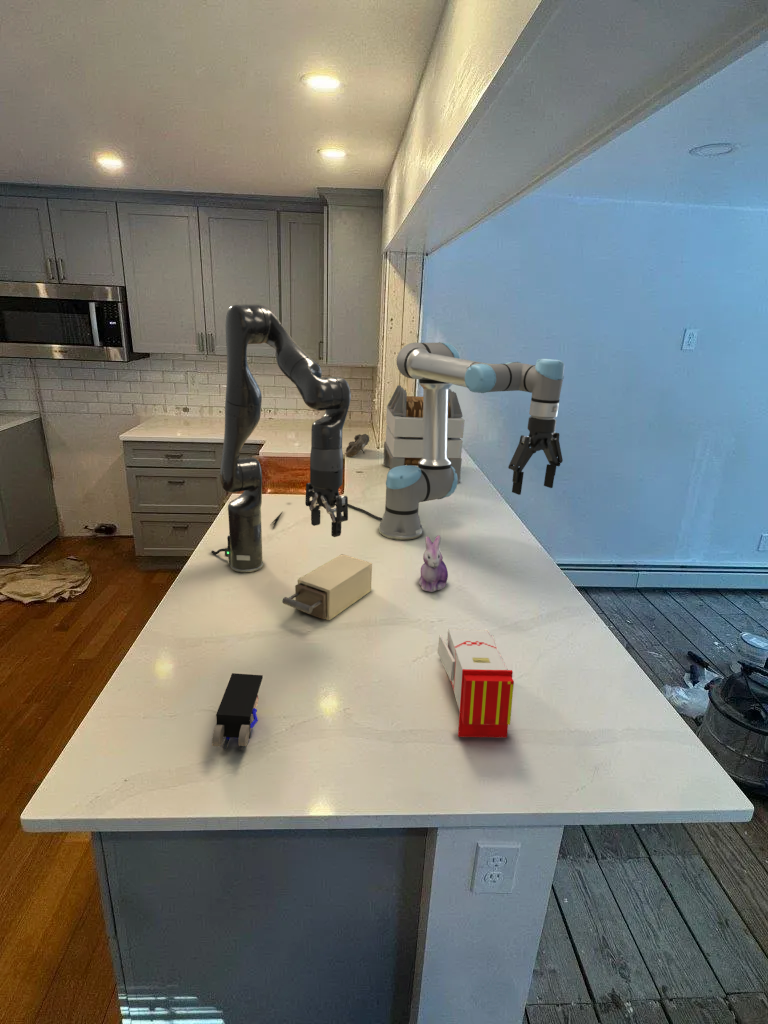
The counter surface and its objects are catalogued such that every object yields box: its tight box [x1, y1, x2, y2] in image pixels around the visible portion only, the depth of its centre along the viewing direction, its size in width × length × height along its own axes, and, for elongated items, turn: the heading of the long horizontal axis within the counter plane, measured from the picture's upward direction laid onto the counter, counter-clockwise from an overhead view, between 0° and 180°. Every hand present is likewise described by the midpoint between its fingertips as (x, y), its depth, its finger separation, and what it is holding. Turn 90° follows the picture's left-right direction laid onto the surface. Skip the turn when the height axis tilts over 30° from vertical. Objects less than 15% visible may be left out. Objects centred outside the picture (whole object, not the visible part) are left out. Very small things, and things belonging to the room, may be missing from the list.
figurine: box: [418, 535, 449, 593], centre depth 161 cm, size 9×10×15 cm
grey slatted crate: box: [383, 384, 465, 484], centre depth 268 cm, size 34×33×41 cm
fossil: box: [345, 433, 370, 458], centre depth 306 cm, size 22×10×15 cm
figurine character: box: [211, 672, 264, 751], centre depth 104 cm, size 7×8×15 cm
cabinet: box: [297, 553, 373, 621], centre depth 152 cm, size 20×10×9 cm, turn 149°
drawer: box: [281, 583, 327, 620], centre depth 148 cm, size 24×9×7 cm, turn 149°
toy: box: [437, 628, 515, 738], centre depth 117 cm, size 12×13×30 cm
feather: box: [270, 512, 283, 529], centre depth 212 cm, size 2×28×2 cm
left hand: (325, 530), depth 136 cm, fingers open, 8 cm apart
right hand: (532, 490), depth 164 cm, fingers open, 13 cm apart
